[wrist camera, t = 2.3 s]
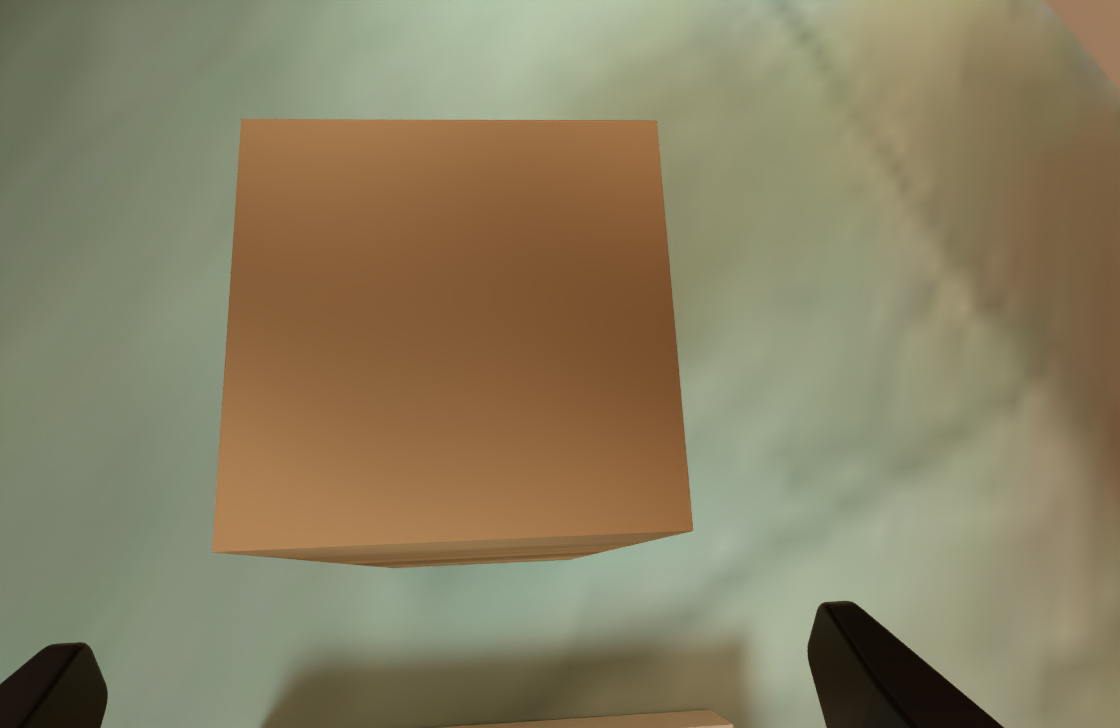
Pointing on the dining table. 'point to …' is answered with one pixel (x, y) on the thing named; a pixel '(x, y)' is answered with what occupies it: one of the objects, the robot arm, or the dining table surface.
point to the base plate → (625, 721)
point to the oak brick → (449, 344)
